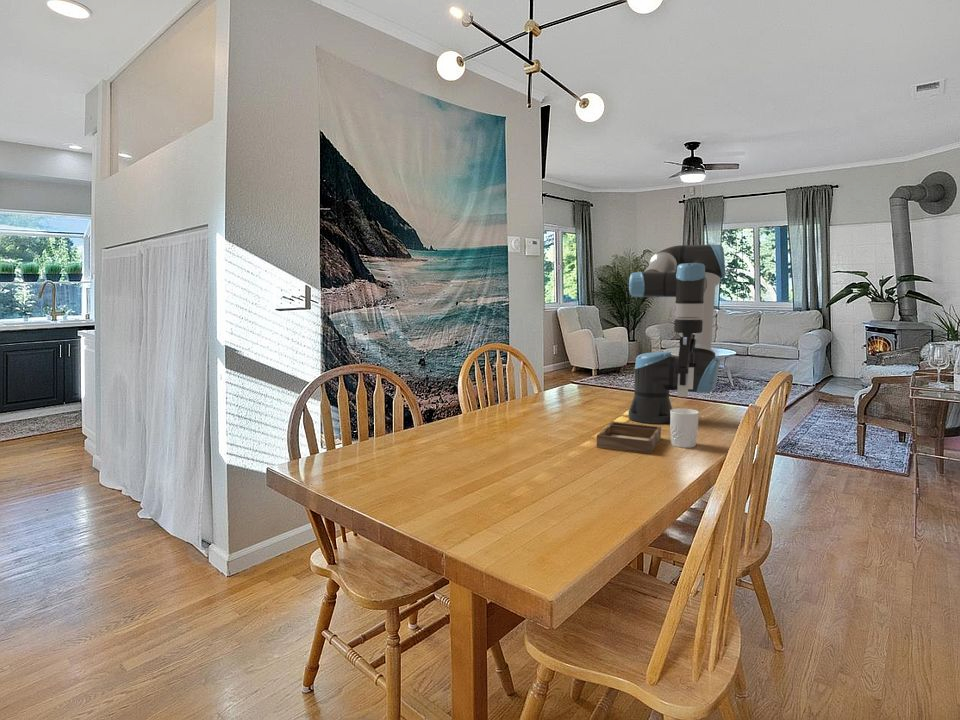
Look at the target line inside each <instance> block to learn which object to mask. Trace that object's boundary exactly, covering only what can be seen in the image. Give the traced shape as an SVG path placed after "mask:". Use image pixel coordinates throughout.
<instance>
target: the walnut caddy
mask: <svg viewBox="0 0 960 720" xmlns="http://www.w3.org/2000/svg"><path fill="white" fill-rule="evenodd" d="M661 433H662V427H661V426H655V425H647V424H646V425H645V424H637V423H636V424H634V423H626V422H618V421H617V422H616V421H610V423H608V425H606V427H604V428H603V429H602V430H601V431H600V432H599V433H598V434H597V435H596V448H600V449H608V450H614V449H615V450H614V451H622V450H623V451H624V452H631V453H640V454H647V455H651V454H652V452H653V450H654V449H655V447H656V446H657V444H658V443H659V441H660V440H661V438H662V434H661ZM623 451H622V452H623Z"/></svg>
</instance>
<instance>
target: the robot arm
mask: <svg viewBox="0 0 960 720" xmlns="http://www.w3.org/2000/svg"><path fill="white" fill-rule="evenodd" d="M725 261H726V259H725V251H724V246H723V245H721V244H711V243H708V244H689V245H687V244H684V245H680V244H679V245H674V246H673V245H672V246H669V247H667V248H664V249H662V250H660V251H659V252H657V253H655V254H654V255H653V256H652V257H651V258H650V260H649V262H648V263H649V264H648V266H647V267H646V269H645V270H644V271H637V272H632V273H631V274H630V276H629V279H628V280H629V281H628V291H629V294H630V296H631V297H635V298H675V302H674V303H675V306H673V308H672V310H673V311H675V312H674V317H675V320H674V326H673V327H674V328H673V331H674V332H675V333H679V334H680V333H681V334H682V336H680V338H679V350H678V356H676V355H675V356H673V355H672V353H671V351H653V352H646V353H641V354H639V355H637V356H636V357H635V365H634V391H633V392H634V393H633V399H632V401H631V404H630V406H629V410H628V417H627V418H628V419H629V420H631V421H634V422H637V423H644V424H660V425H661V424H668V423H669V424H670V410H671V409H673V406H672V403H671V398H670V391H673V392H675V391H676V393H677V394H676V396H677V397H678V398H679V397H681V398H682V397H683V398H688V397H689V393H697V394H700V393H706V394H707V393H708V394H709V393H711V392H713V391H714V390H715V387H716V383H717V380H718V375H719V369H720V359H719V358H717V357H716V352H715V351H714V350H713V349H712V338H713V328H714V327H713V325H714V312H715V298H716V287H717V286H719V284H721V281H722V279H723V278H726V262H725Z"/></svg>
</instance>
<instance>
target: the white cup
mask: <svg viewBox="0 0 960 720" xmlns="http://www.w3.org/2000/svg"><path fill="white" fill-rule="evenodd" d="M699 419H700V411H699V410H696V409H692V408H684V407H683V408H681V407H680V408H679V407H677V408H672V409H671V410H670V422H669V428H670V432H669V433H670V444H671V446H673V447H677V448H682V449H683V448H684V449H689V448H691V449H692V448H694V447H696V445H697V436H698V429H699Z"/></svg>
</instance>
